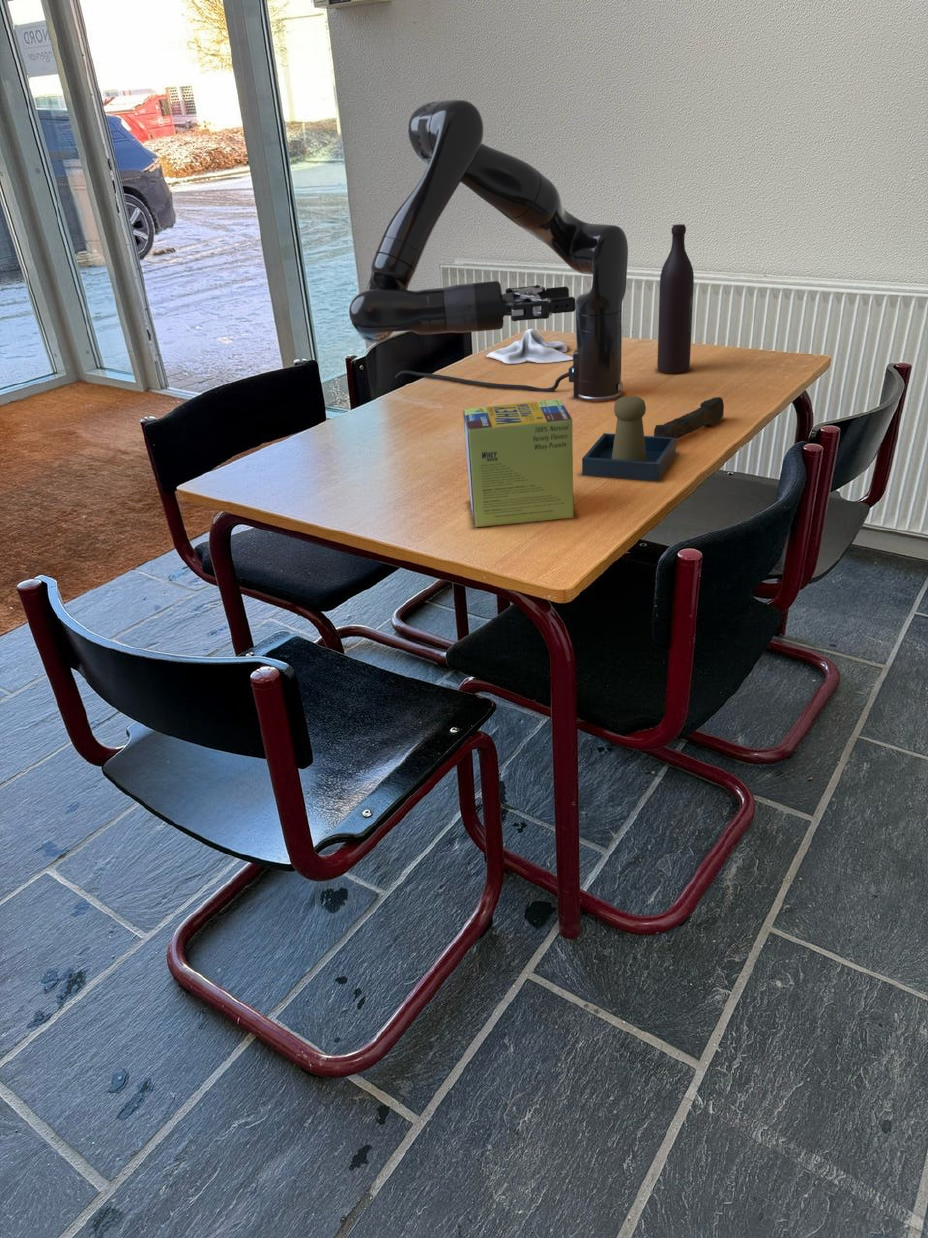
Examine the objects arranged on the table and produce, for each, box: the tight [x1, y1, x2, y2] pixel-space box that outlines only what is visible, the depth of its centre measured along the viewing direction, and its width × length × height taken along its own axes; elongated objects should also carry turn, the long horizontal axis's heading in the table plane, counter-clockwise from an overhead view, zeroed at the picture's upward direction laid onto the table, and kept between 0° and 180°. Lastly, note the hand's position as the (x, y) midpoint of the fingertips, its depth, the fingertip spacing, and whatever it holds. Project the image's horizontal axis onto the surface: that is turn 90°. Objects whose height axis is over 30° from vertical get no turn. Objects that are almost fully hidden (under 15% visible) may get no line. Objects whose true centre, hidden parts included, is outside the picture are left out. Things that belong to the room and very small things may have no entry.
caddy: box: [581, 432, 677, 482], centre depth 154 cm, size 13×13×3 cm
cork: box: [612, 395, 647, 462], centre depth 152 cm, size 6×6×11 cm
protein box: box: [462, 398, 575, 528], centre depth 138 cm, size 10×15×16 cm
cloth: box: [486, 328, 573, 365], centre depth 222 cm, size 22×19×6 cm
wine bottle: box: [656, 223, 695, 375], centre depth 195 cm, size 7×7×30 cm
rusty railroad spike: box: [653, 396, 725, 441], centre depth 165 cm, size 19×4×5 cm, turn 130°
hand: (571, 298), depth 148 cm, fingers open, 8 cm apart
